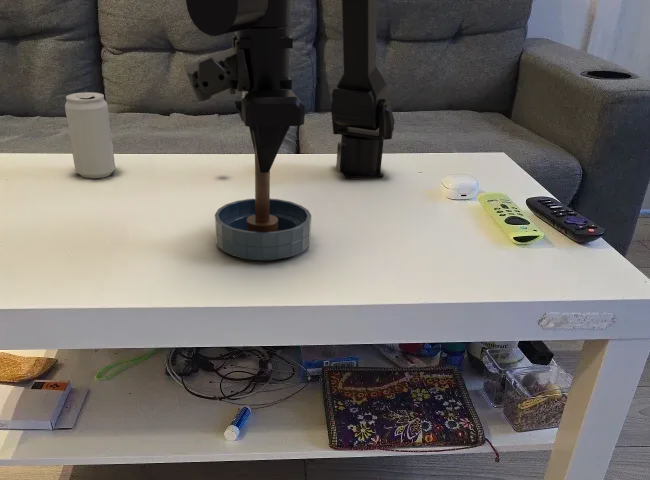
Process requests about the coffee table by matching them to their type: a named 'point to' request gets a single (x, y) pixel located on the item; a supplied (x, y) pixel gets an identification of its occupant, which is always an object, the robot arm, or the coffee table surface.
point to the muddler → (262, 204)
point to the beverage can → (90, 134)
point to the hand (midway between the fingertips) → (263, 169)
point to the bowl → (263, 244)
